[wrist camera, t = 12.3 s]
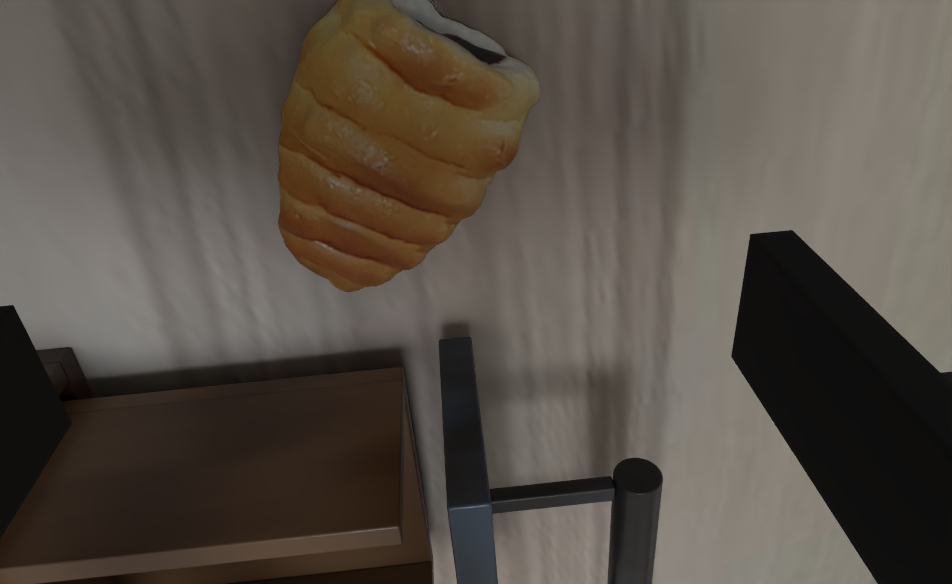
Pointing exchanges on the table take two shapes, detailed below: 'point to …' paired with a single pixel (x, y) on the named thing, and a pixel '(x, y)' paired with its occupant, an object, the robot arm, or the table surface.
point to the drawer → (289, 488)
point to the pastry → (392, 136)
